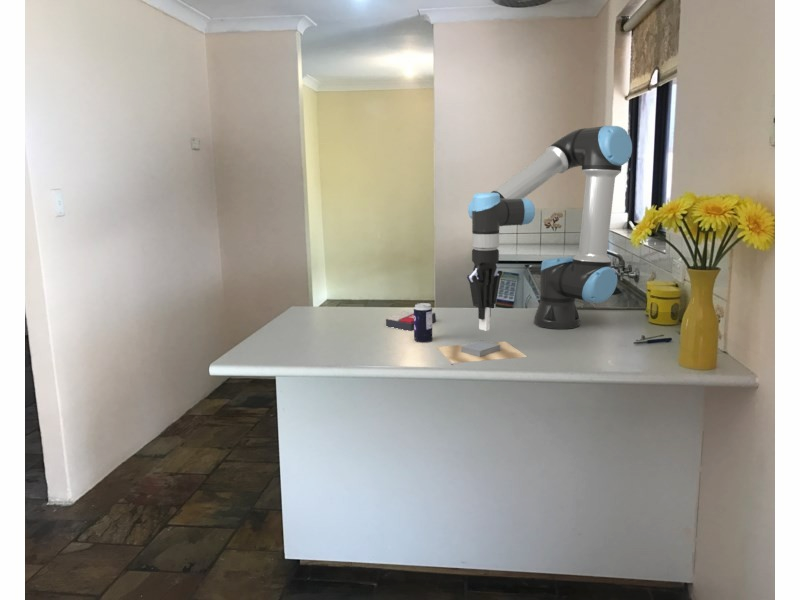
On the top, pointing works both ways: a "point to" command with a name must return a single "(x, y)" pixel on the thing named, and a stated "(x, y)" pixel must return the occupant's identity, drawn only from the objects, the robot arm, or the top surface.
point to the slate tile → (480, 348)
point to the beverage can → (423, 322)
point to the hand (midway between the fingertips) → (484, 329)
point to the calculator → (404, 320)
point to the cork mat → (505, 352)
